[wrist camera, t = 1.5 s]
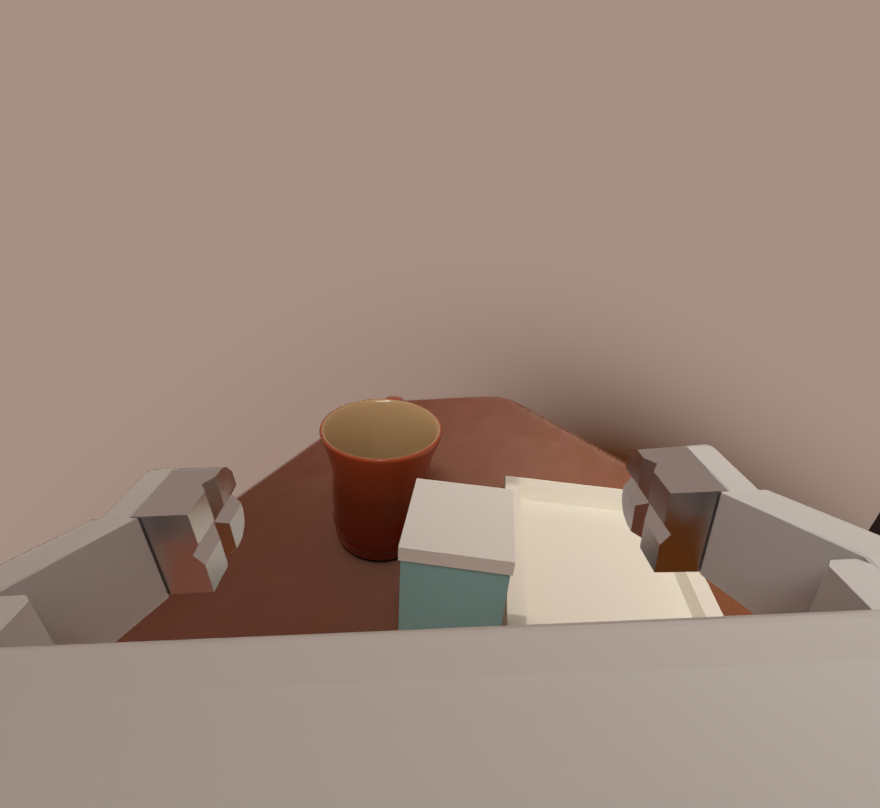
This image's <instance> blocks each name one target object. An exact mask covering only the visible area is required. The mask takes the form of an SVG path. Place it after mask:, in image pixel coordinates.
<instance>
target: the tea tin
mask: <svg viewBox="0 0 880 808" xmlns="http://www.w3.org/2000/svg"><path fill="white" fill-rule="evenodd" d="M398 560H399V561H400V593H399V627H398V630H417V629H439V628H461V627H483V626H501V625H502V619H503V613H504V608H505V602H506V597H507V591H508V585H509V580H510V575H511V576H513V572H514V567H515V538H514V508H513V490H511V489H503V488H495V487H486V486H478V485H470V484H461V483H453V482H445V481H436V480H428V479H420V478H417V479H416V483H415V487H414V490H413V494H412V498H411V502H410V505H409V509H408V513H407V516H406V520H405V524H404V528H403V531H402V535H401V539H400V542H399V546H398Z"/></svg>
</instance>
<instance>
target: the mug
mask: <svg viewBox="0 0 880 808" xmlns="http://www.w3.org/2000/svg"><path fill="white" fill-rule="evenodd" d="M319 432H320V437H321V440H322V443H323V445H324V447H325V449H326V451H327V454H328V456H329V459H330V462H331V465H332V470H333V505H334V512H333V517H334V522H335V525H336V530H337V533H338V536H339V539H340V541H341V543H342V544H343V546H344V547H345V548H346V549H347V550H348V551H350V552H351V553H353V554H354V555H356V556H359V557H361V558H365V559H369V560H389V559H394V558H397V557H398V546H399V542H400V539H401V535H402V531H403V528H404V524H405V520H406V516H407V513H408V509H409V505H410V502H411V498H412V494H413V490H414V487H415V483H416V479H417V478H420V479H428V480H429V468H430V463H431V460H432V457H433V455H434V452H435V450H436V447H437V445H438V443H439V441H440V438H441V435H442V427H441V424H440V422H439V420H438V419H437V417H436V416H435V415H434V414H432V413H431V412H430V411H428V410H427V409H425V408H423V407H421V406H419V405H416V404H413V403H410V402H406V401H404V399H403V398H402V397H398V396H389V397H387V398H386V399H368V400H362V401H358V402H354V403H350V404H347V405H344V406H342V407H340V408H337V409H336V410H334V411H332V412H331V413H330V414H329V415H327V416H326V417H325V418H324V420H323V421H322V423H321V426H320V431H319Z"/></svg>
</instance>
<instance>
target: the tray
mask: <svg viewBox="0 0 880 808" xmlns="http://www.w3.org/2000/svg"><path fill="white" fill-rule="evenodd" d="M504 489H511V490H513V508H514V538H515V567H514V572H513V576H511V575H510V580H509V585H508V591H507V597H506V602H505V608H504V613H503V619H502V626H506V625H529V624H553V623H576V622H600V621H623V620H647V619H670V618H694V617H717V616H723V614H722V612H721V610H720V608H719V606H718V604H717V601H716V599H715V597H714V595H713V593H712V591H711V589H710V587H709V585H708V583H707V581H706V579H705V577H703V576H702V575H701V574H700V572H654V571H653V569H652V568H651V566H650V564H649V562H648V561H647V559H646V557H645V555H644V554H643V552H642V550H641V548H640V543H641V537H639V536H638V535H636V534H634V533H633V532H631V531H630V529H629V527H628V525H627V523H626V520H625V517H624V514H623V508H622V493H623V489H614V488H606V487H597V486H589V485H580V484H572V483H563V482H555V481H546V480H538V479H529V478H521V477H512V476H505V482H504Z"/></svg>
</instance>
